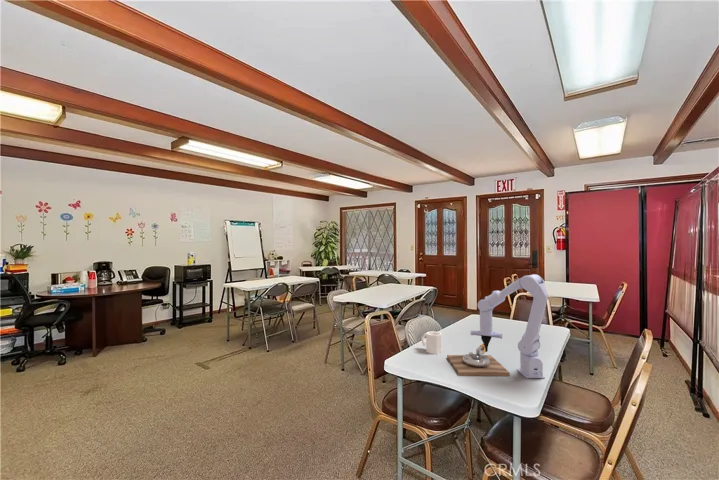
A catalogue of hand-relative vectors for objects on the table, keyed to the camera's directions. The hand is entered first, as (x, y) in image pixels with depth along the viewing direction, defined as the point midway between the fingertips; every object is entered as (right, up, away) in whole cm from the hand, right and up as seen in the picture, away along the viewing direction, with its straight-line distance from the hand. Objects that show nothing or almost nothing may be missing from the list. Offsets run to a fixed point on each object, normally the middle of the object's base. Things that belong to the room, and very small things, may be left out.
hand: (486, 351), depth 158 cm
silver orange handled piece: (-5, -3, -4) cm, 7 cm away
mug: (-24, -6, +16) cm, 29 cm away
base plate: (-8, -5, -6) cm, 11 cm away
